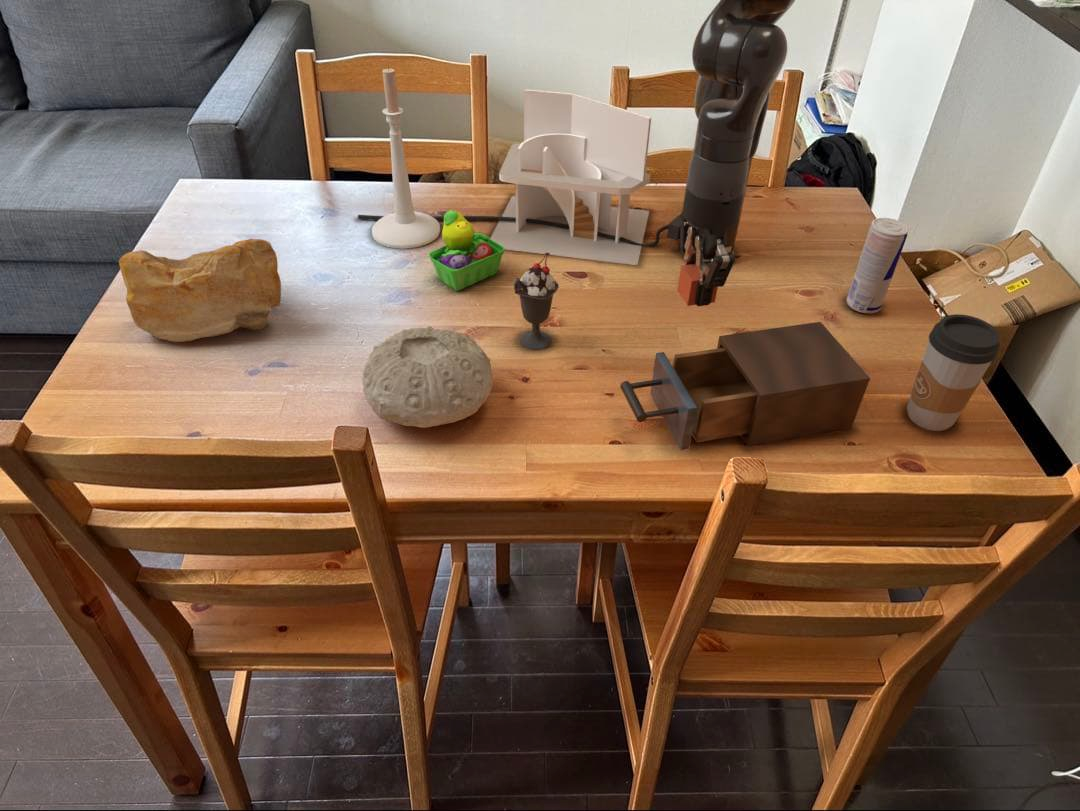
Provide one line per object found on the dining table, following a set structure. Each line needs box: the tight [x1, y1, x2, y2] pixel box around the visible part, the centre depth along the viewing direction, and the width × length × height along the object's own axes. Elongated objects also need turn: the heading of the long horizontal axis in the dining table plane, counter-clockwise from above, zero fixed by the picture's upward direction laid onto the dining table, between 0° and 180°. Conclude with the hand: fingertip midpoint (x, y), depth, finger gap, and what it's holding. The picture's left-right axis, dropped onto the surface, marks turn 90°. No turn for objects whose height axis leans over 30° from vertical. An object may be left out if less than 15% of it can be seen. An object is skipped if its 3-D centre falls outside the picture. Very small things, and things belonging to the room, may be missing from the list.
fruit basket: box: [428, 209, 506, 292], centre depth 133 cm, size 11×9×11 cm
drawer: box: [619, 347, 758, 451], centre depth 106 cm, size 20×12×7 cm, turn 104°
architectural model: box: [489, 89, 652, 266], centre depth 142 cm, size 28×21×23 cm
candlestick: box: [371, 66, 441, 250], centre depth 139 cm, size 13×13×30 cm
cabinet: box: [716, 321, 871, 448], centre depth 109 cm, size 16×13×9 cm
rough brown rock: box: [118, 238, 282, 343], centre depth 123 cm, size 23×17×15 cm
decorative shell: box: [361, 326, 493, 429], centre depth 108 cm, size 18×18×10 cm
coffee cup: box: [906, 314, 1001, 432], centre depth 106 cm, size 8×8×15 cm
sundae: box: [513, 253, 560, 351], centre depth 118 cm, size 7×7×15 cm
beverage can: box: [846, 217, 910, 314], centre depth 127 cm, size 6×6×15 cm
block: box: [676, 264, 719, 307], centre depth 112 cm, size 4×4×4 cm
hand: (696, 294), depth 113 cm, fingers closed on block, 4 cm apart
